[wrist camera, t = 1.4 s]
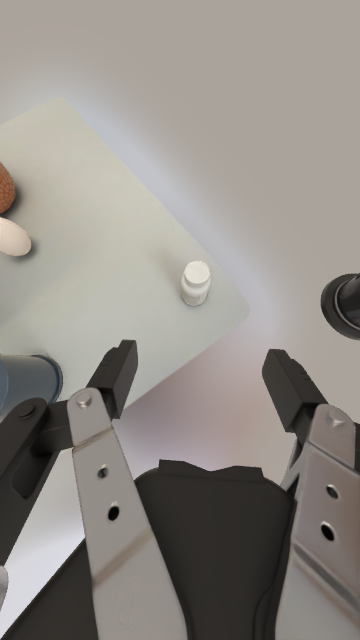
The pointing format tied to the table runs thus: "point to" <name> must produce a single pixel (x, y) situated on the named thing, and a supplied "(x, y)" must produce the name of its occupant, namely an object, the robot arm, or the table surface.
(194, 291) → the pill bottle
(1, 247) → the egg
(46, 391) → the cup
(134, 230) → the table surface
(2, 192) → the planter
